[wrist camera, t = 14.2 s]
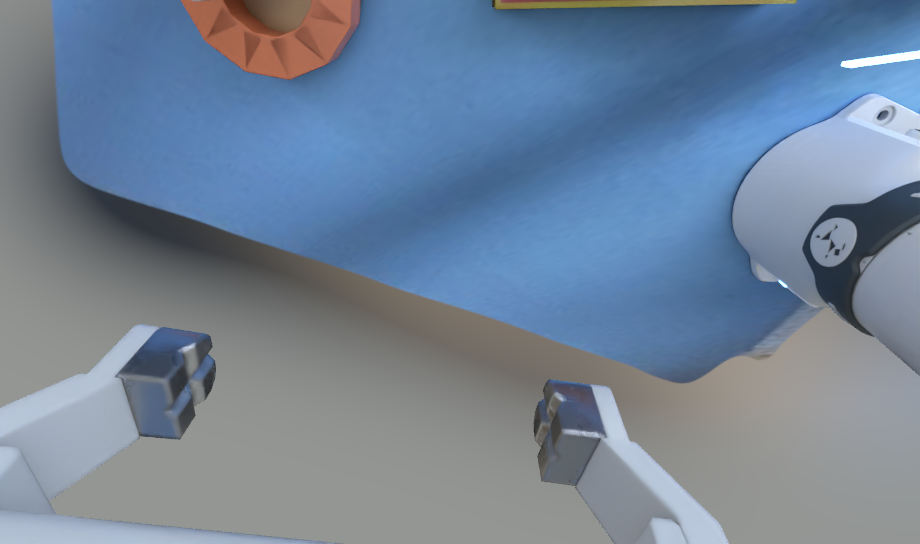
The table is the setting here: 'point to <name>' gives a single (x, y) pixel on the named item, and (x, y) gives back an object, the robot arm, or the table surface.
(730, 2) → the hardcover book
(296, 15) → the stand
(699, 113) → the table surface
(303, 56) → the ring
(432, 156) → the table surface
